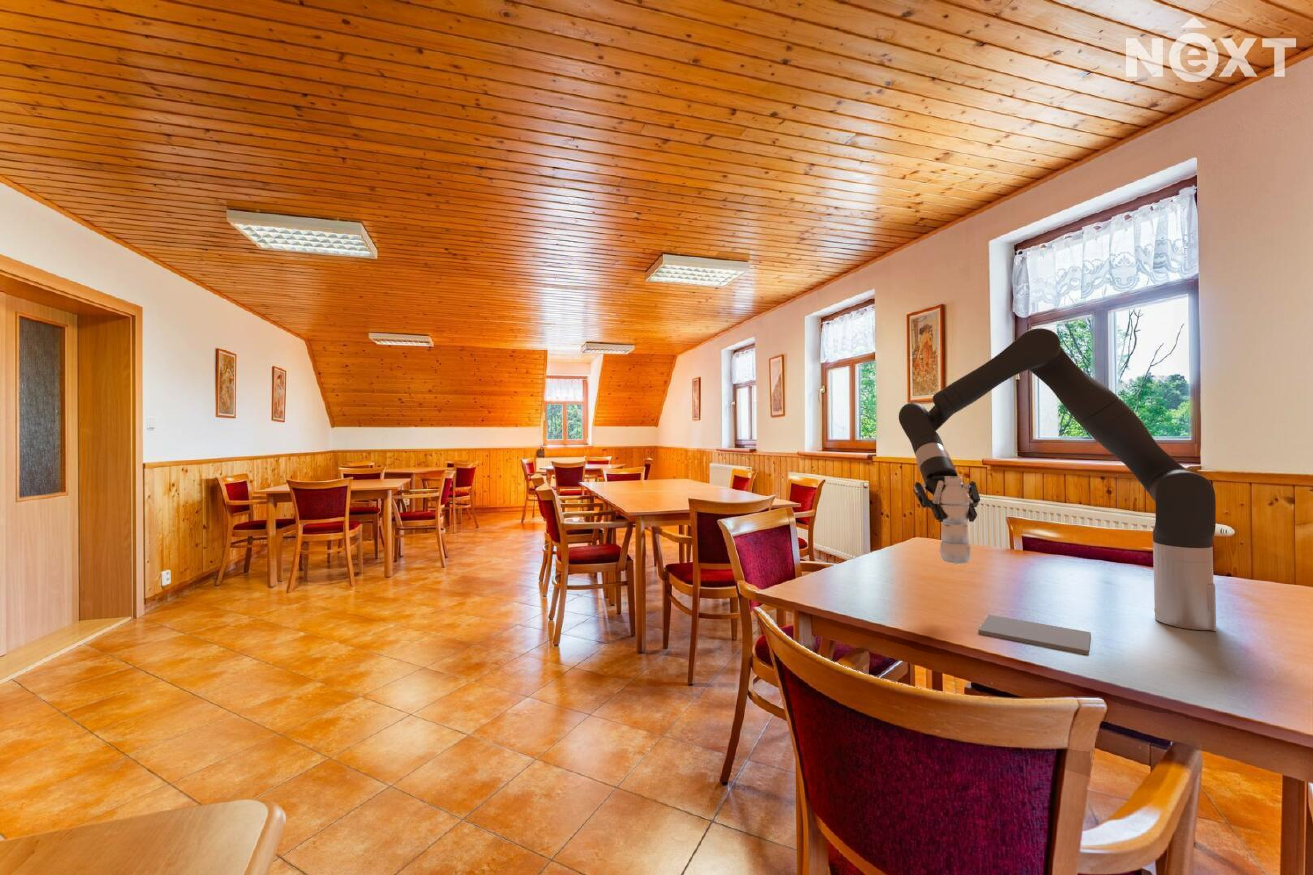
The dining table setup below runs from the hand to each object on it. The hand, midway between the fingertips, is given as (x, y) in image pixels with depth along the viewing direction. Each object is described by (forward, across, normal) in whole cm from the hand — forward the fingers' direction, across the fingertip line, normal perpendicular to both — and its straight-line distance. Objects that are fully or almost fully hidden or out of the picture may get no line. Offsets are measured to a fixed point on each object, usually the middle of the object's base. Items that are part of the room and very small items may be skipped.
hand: (957, 519), depth 121 cm
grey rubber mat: (+23, +11, +9) cm, 27 cm away
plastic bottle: (+6, 0, +9) cm, 11 cm away
